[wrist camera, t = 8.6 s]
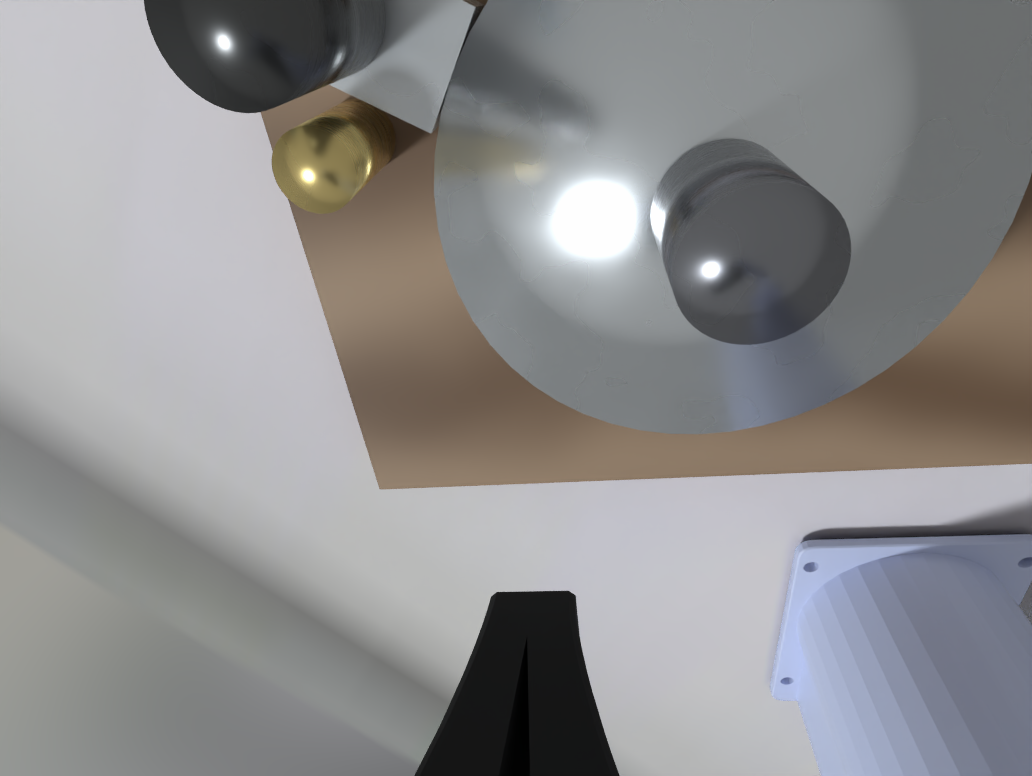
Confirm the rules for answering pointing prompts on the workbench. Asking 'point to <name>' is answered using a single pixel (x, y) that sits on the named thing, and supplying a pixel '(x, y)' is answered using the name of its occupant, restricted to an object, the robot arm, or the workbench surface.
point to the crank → (665, 165)
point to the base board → (595, 443)
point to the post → (747, 243)
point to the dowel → (333, 155)
